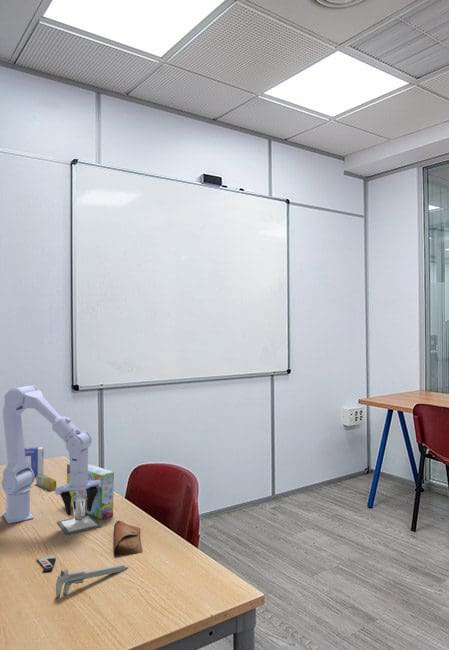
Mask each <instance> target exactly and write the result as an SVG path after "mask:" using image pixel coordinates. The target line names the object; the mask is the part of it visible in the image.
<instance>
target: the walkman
mask: <svg viewBox="0 0 449 650" xmlns="http://www.w3.org/2000/svg"><path fill="white" fill-rule="evenodd" d="M24 449H25V458H26V461H27V462H29V463H30V464H31V468H32V471H33V472H34V476H35V477H36V475H38V474H44V473H45V471H44V465H45V464H44V463H45V462H44V458H45V457H44V455H45V453H44V446H41V447H40V446H38V447H24ZM44 475H45V474H44Z"/></svg>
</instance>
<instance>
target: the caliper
mask: <svg viewBox="0 0 449 650" xmlns="http://www.w3.org/2000/svg"><path fill="white" fill-rule="evenodd" d="M129 568H130V567H129V566H127V565H125V564H116V565H113V566H107V567H102V568H97V569H92V570H87V571H85V570H77V571H72V572H71V571H70V572H69V570H68V569H65V570H62V569H61V570H60V574H58V575H57V578H56V583H55V596H56V597H57V598H61V594H62V595H63V596H67V595H68V593H69V591H70V589H71V585H72V584H75V585H78V584H83V583H84V580H87V579H92V578H98V577H101V576H108V575H113V574H116V573H120V572H124V571H125V570H127V569H129ZM62 589H63V590H62ZM62 591H63V592H62Z"/></svg>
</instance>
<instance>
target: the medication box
mask: <svg viewBox="0 0 449 650" xmlns="http://www.w3.org/2000/svg"><path fill="white" fill-rule="evenodd" d="M35 480H36V485H37V486H40V488H41V487H42V488H43V489H46V490H47V491H50V492H53V491H54V492H55V487H57V480H56V479H54V478H51V477H50V476H48V475H45V474H38V475H36V479H35Z"/></svg>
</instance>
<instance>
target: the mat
mask: <svg viewBox="0 0 449 650" xmlns="http://www.w3.org/2000/svg"><path fill="white" fill-rule="evenodd" d="M56 524H57V525H58V526H59V528H61V530H62V532H64V533H65V535H73V534H76V533H83V532H85V531H88V530H89V531H90V530H95V529H98V528H101V527H102V525H101V524H100V523H99V522H98V521H97V520H96V519H95V518H94V516H92V515H90V514H86V515H85V523H84V524H82V525H75V524H74V517H72V518H67V519H64V520H63V519H62V520H59V521H56Z"/></svg>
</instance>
